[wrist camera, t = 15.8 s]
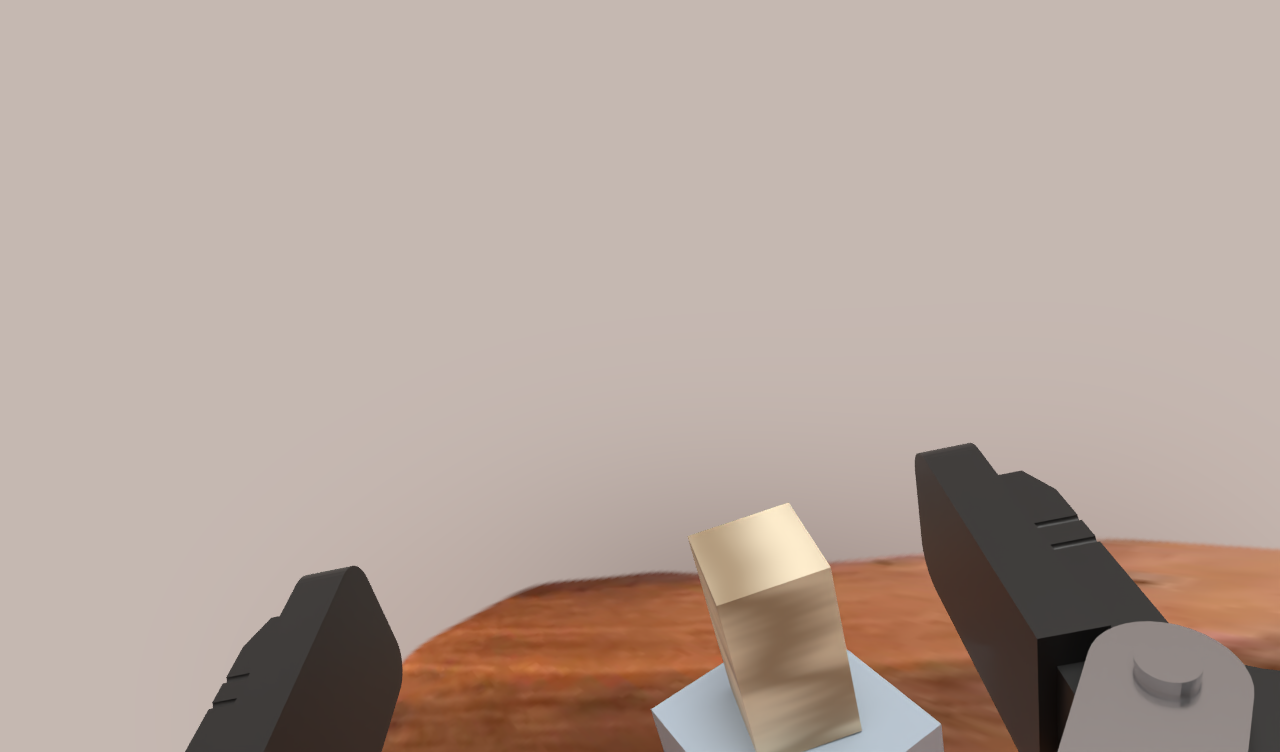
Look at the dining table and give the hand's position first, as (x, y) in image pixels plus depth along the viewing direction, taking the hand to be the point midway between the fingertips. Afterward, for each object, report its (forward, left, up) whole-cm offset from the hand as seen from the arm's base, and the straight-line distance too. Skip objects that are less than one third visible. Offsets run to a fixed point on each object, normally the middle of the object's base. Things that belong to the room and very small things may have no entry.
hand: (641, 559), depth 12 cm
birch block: (-6, -19, -26) cm, 33 cm away
